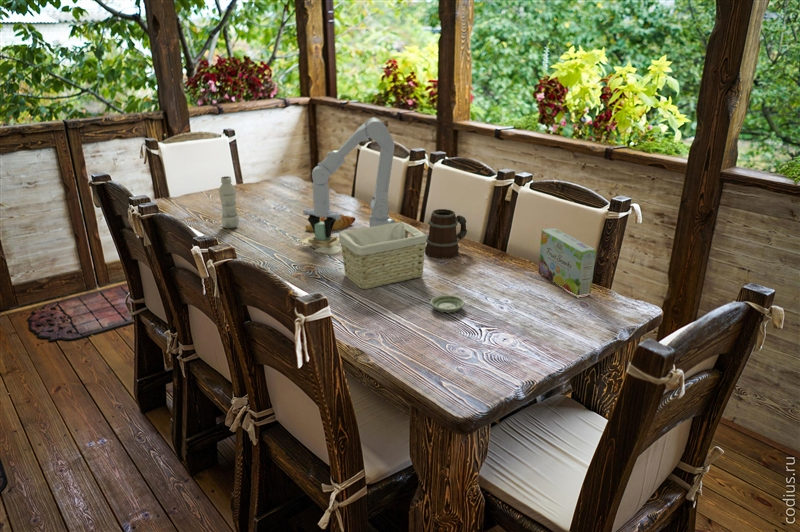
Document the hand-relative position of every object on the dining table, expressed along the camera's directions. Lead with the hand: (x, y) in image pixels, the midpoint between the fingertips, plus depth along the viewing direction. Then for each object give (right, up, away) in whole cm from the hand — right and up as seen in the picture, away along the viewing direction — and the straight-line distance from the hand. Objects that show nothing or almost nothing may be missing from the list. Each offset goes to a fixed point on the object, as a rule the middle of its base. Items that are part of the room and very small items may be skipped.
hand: (322, 236), depth 221 cm
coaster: (+4, -6, -8) cm, 10 cm away
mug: (+45, -6, -8) cm, 46 cm away
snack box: (+79, -17, -33) cm, 87 cm away
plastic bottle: (-38, +4, +16) cm, 41 cm away
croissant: (+1, +4, +16) cm, 17 cm away
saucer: (+42, -24, -50) cm, 69 cm away
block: (0, -2, +1) cm, 2 cm away
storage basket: (+23, -15, -29) cm, 39 cm away
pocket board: (0, -2, +1) cm, 2 cm away
